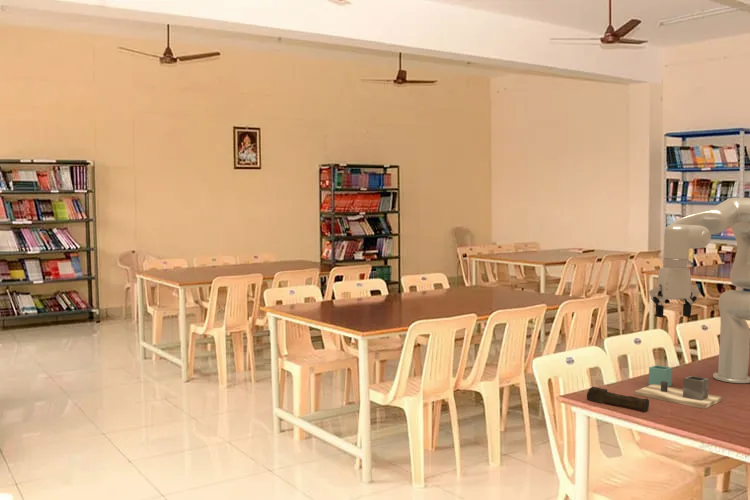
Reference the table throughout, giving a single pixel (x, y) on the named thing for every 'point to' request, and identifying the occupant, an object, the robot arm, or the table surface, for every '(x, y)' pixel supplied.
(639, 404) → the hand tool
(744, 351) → the robot arm
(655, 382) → the teal wall cubby
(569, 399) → the table surface
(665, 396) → the seat plate
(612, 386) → the table surface
